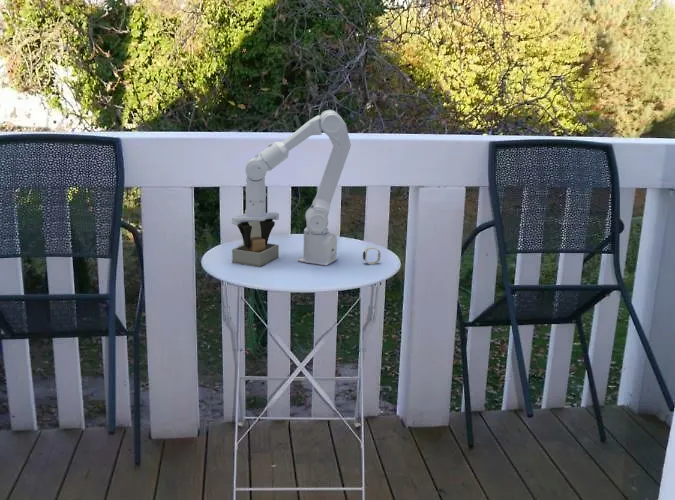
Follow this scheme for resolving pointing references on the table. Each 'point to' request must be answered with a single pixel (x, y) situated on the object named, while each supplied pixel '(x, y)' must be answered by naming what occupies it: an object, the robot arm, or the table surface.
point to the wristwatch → (366, 255)
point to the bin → (255, 255)
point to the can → (254, 229)
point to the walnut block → (256, 244)
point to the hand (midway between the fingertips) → (255, 245)
